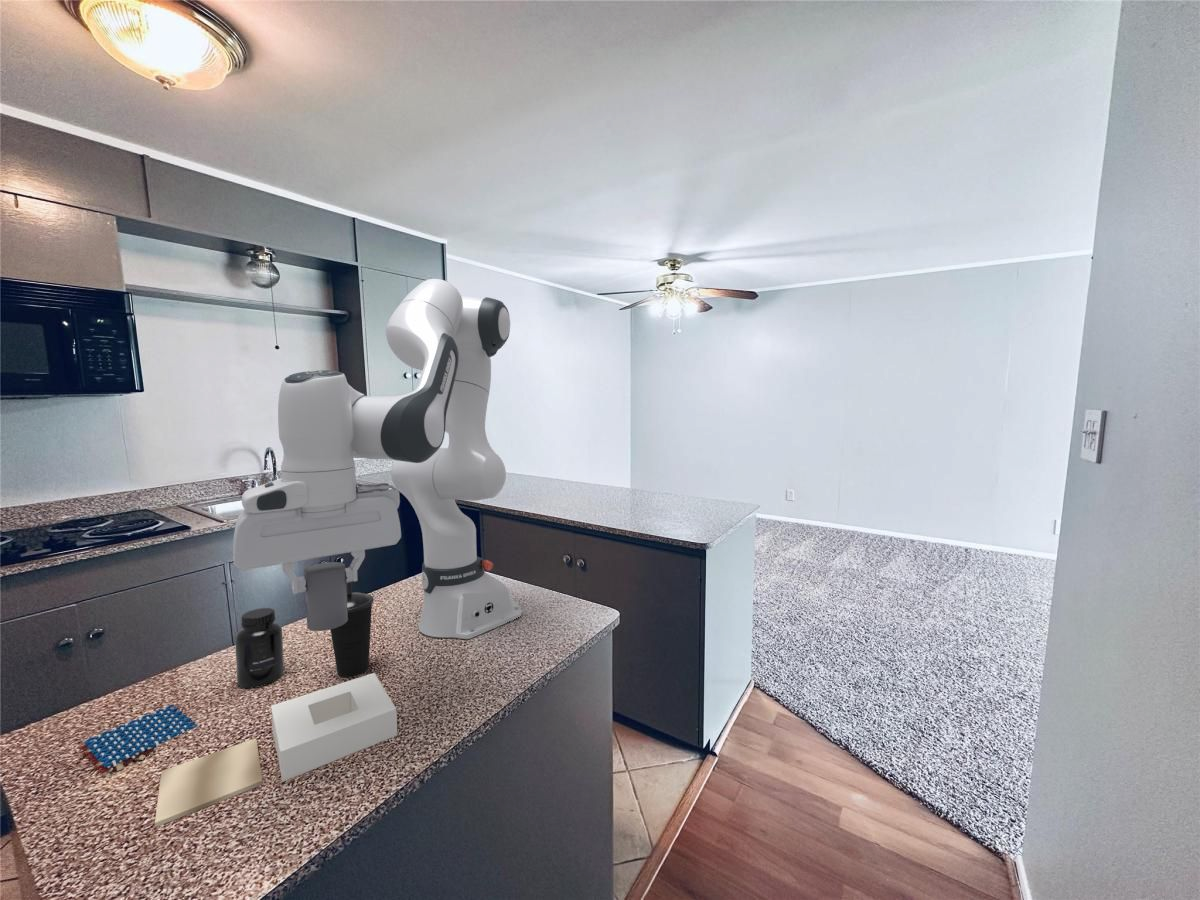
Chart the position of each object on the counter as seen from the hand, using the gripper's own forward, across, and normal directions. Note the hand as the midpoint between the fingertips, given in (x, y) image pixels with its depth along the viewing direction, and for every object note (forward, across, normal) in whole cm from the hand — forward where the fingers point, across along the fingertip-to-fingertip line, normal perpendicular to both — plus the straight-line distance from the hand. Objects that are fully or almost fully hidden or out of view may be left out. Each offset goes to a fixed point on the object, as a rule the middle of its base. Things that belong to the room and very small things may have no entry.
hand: (325, 586), depth 69 cm
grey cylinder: (+5, 0, 0) cm, 5 cm away
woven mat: (+24, +22, -17) cm, 37 cm away
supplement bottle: (+23, +7, -26) cm, 36 cm away
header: (+23, 0, 0) cm, 23 cm away
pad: (+23, +14, 0) cm, 27 cm away
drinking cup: (+23, -6, -17) cm, 29 cm away
